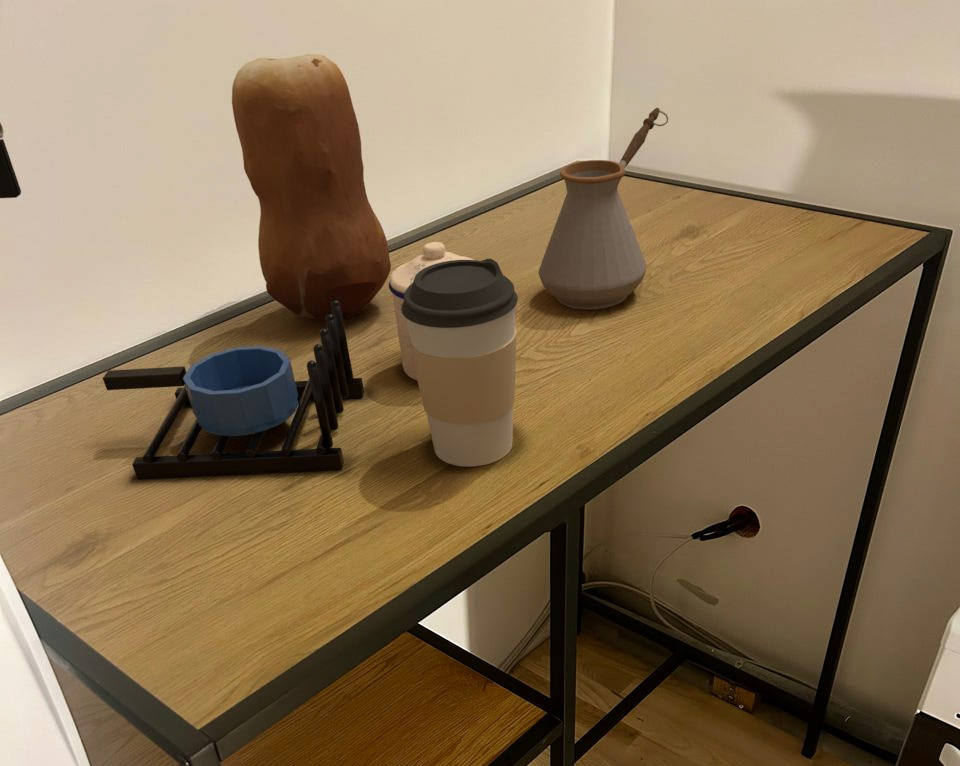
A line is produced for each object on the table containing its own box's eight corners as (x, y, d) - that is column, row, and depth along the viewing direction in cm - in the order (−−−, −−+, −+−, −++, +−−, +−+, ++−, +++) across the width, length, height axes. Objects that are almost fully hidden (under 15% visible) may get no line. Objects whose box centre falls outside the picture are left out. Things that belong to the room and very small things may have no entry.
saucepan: (103, 442, 83) (86, 398, 80) (136, 393, 89) (121, 351, 87) (287, 433, 81) (276, 388, 79) (306, 384, 88) (297, 341, 85)
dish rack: (137, 479, 82) (99, 378, 76) (182, 401, 93) (152, 307, 86) (342, 469, 81) (321, 365, 74) (364, 391, 91) (347, 295, 85)
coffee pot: (615, 324, 98) (617, 167, 88) (519, 307, 103) (512, 157, 93) (700, 253, 110) (710, 109, 101) (611, 241, 116) (613, 102, 106)
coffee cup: (442, 484, 78) (419, 304, 68) (406, 435, 84) (381, 264, 74) (543, 455, 80) (535, 276, 70) (500, 410, 86) (488, 240, 76)
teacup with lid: (407, 393, 90) (389, 269, 82) (395, 353, 97) (378, 235, 89) (530, 373, 91) (525, 249, 83) (510, 335, 98) (503, 217, 90)
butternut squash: (344, 281, 113) (301, 35, 96) (420, 306, 105) (388, 44, 89) (248, 321, 106) (184, 64, 89) (323, 351, 98) (268, 76, 82)
